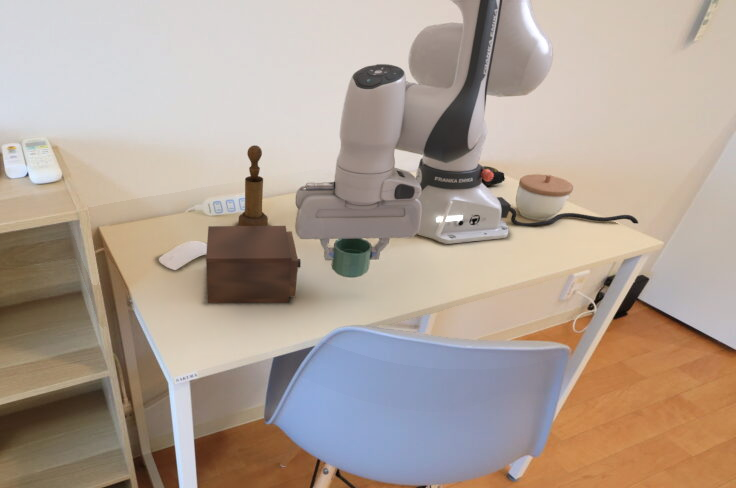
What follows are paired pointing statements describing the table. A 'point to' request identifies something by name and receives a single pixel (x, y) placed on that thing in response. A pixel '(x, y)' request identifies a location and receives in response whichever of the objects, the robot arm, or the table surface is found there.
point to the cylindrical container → (351, 257)
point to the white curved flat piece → (183, 254)
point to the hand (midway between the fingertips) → (351, 258)
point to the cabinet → (248, 264)
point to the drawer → (293, 264)
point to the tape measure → (496, 179)
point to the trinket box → (542, 196)
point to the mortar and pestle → (253, 193)
